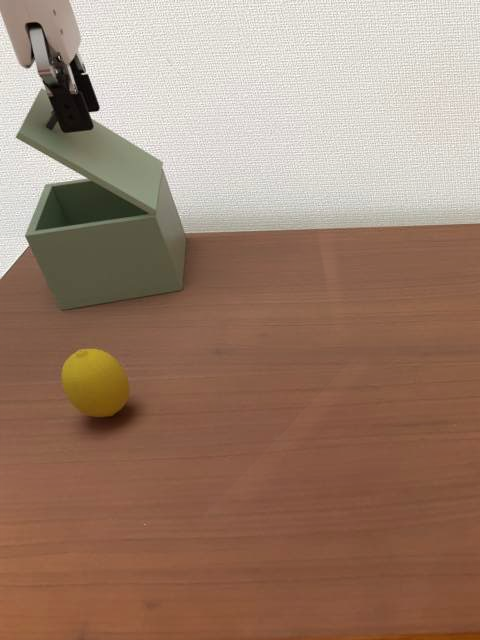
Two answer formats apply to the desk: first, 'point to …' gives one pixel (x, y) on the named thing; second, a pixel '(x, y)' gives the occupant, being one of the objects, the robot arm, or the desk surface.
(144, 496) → the desk surface
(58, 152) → the lid
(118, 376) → the lemon
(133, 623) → the desk surface
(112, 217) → the chest
